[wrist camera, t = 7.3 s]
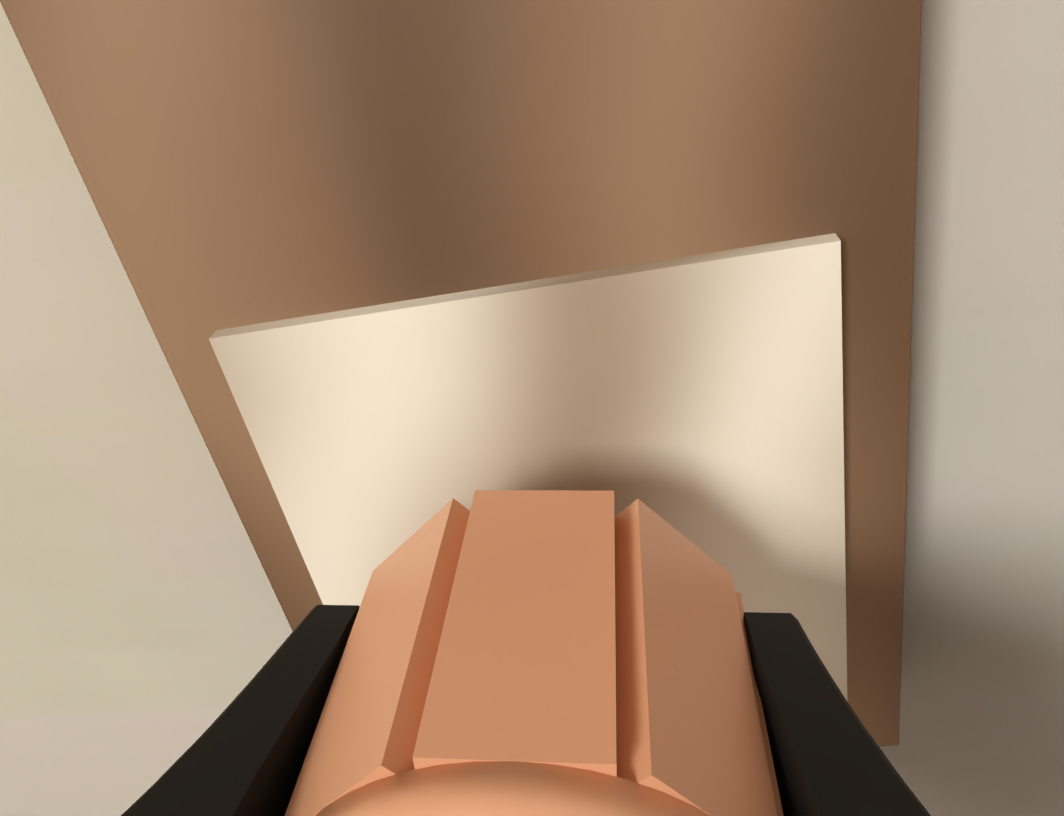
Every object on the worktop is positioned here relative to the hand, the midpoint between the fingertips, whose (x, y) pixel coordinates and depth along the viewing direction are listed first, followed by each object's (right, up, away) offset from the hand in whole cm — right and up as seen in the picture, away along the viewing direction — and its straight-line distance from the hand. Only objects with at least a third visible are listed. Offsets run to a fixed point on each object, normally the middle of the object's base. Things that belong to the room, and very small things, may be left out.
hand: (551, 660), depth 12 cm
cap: (0, 0, 0) cm, 0 cm away
